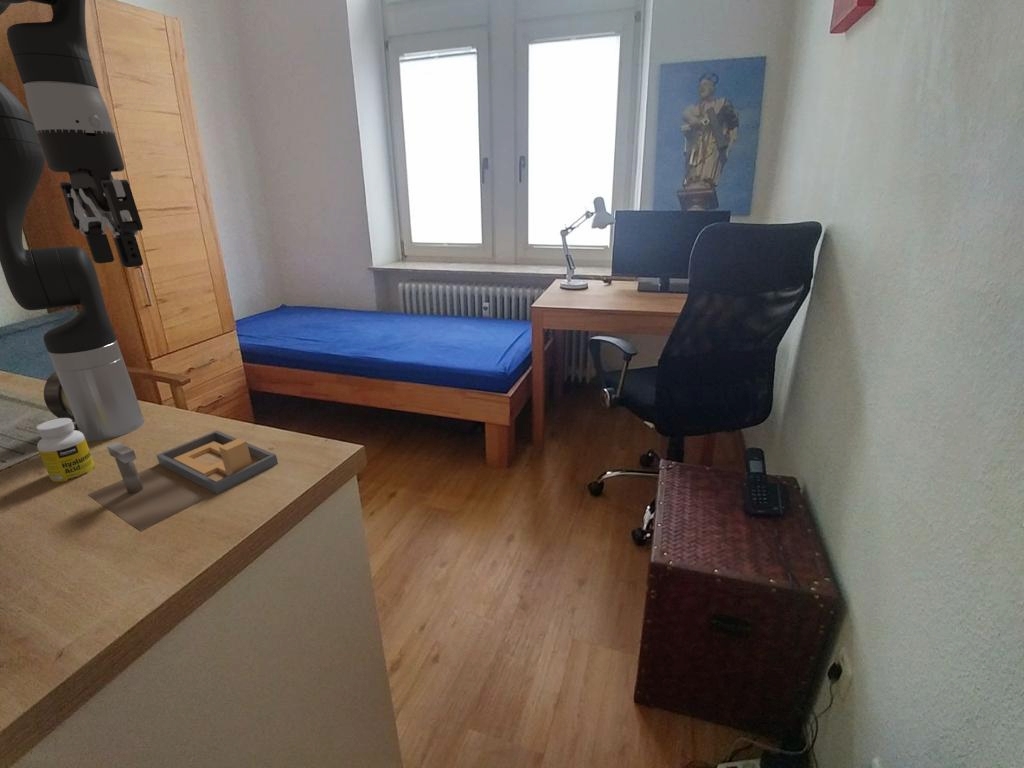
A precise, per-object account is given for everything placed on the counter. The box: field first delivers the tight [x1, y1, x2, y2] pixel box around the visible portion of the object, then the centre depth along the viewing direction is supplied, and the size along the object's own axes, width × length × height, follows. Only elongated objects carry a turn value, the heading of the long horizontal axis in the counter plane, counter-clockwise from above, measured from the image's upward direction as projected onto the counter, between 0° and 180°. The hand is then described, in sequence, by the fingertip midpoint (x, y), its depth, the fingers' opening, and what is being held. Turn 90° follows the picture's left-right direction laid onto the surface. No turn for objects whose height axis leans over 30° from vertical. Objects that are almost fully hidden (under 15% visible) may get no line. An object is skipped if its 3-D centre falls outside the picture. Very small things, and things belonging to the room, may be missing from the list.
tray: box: [156, 430, 279, 495], centre depth 78 cm, size 17×10×3 cm, turn 58°
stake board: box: [87, 441, 206, 532], centre depth 69 cm, size 16×8×8 cm, turn 58°
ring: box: [173, 437, 253, 477], centre depth 77 cm, size 14×6×6 cm, turn 58°
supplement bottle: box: [36, 418, 96, 483], centre depth 75 cm, size 5×5×10 cm
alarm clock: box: [43, 370, 79, 431], centre depth 93 cm, size 11×5×16 cm, turn 168°
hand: (118, 264), depth 67 cm, fingers open, 8 cm apart
